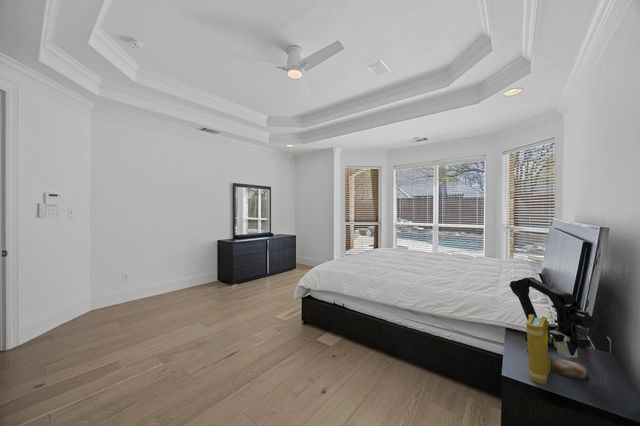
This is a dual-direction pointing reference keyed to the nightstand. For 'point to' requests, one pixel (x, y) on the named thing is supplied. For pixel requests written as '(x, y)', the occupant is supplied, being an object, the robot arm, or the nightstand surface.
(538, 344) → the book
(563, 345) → the sage block
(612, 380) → the nightstand surface
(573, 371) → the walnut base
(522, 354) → the nightstand surface
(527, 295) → the robot arm
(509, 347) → the nightstand surface
